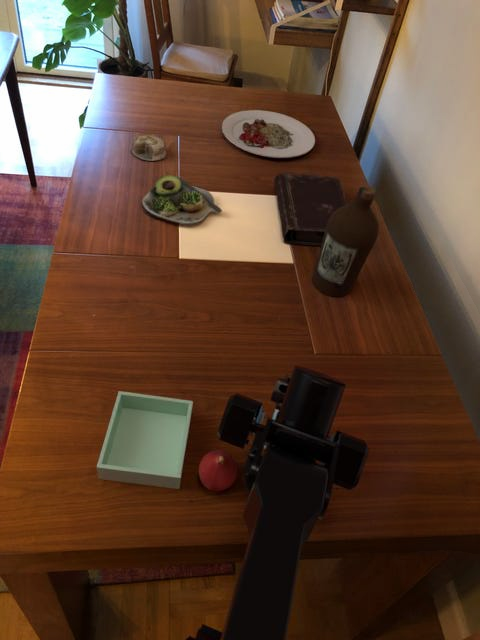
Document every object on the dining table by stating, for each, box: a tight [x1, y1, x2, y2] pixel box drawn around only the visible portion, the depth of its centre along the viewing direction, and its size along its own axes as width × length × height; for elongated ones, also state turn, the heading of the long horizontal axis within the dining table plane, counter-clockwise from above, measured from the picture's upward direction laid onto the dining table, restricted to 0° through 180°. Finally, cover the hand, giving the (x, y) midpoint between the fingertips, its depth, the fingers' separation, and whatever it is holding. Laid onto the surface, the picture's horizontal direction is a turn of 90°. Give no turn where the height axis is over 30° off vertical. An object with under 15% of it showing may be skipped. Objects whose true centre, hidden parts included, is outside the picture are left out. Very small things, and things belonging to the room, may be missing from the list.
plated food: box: [221, 109, 316, 159], centre depth 151 cm, size 30×30×3 cm
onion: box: [198, 449, 238, 492], centre depth 72 cm, size 6×6×8 cm
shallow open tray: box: [96, 390, 194, 490], centre depth 75 cm, size 13×12×5 cm
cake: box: [131, 134, 167, 162], centre depth 135 cm, size 10×10×5 cm
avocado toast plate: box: [140, 174, 223, 226], centre depth 120 cm, size 19×18×5 cm
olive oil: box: [311, 184, 380, 298], centre depth 100 cm, size 11×11×25 cm
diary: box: [273, 172, 348, 247], centre depth 124 cm, size 19×25×5 cm
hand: (293, 426), depth 70 cm, fingers open, 9 cm apart
